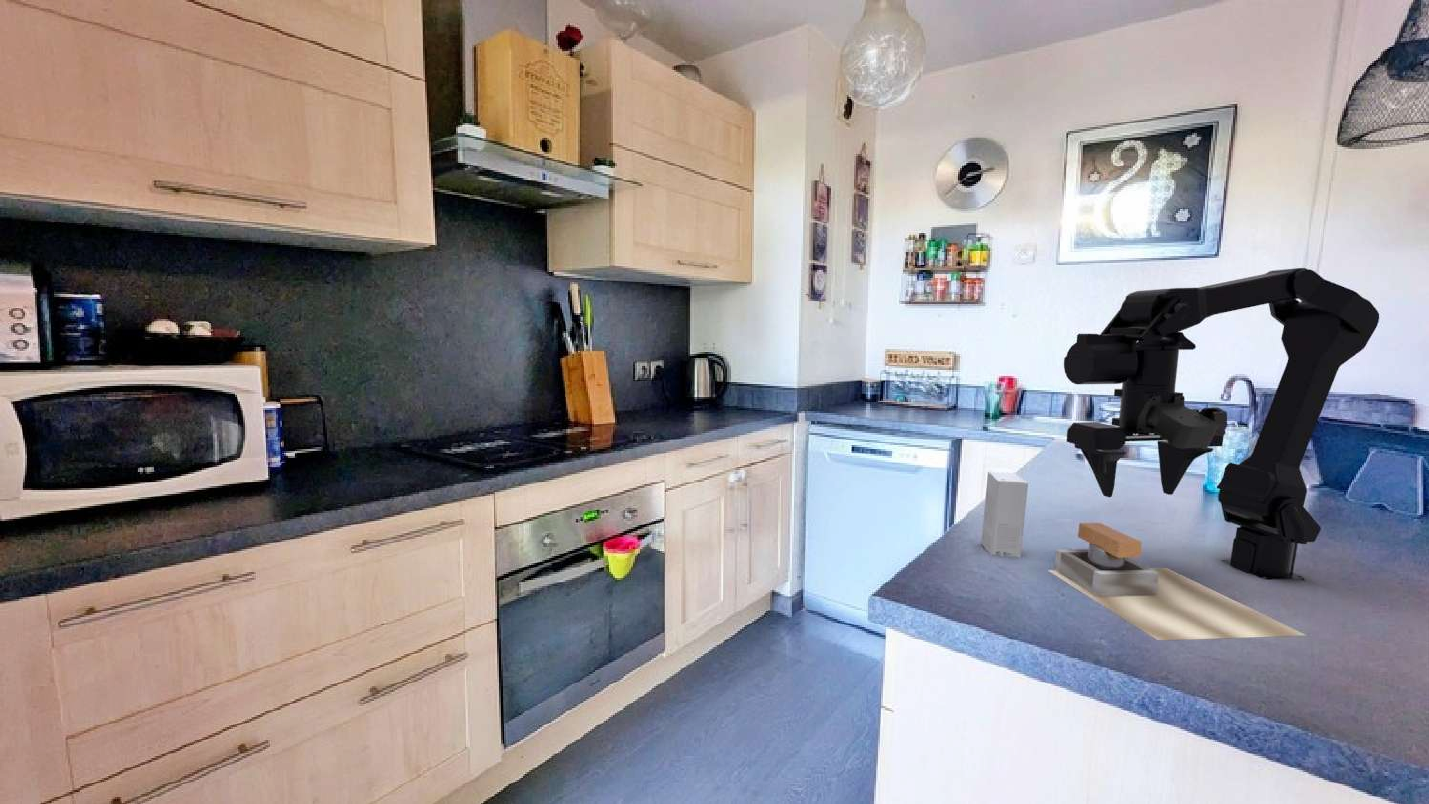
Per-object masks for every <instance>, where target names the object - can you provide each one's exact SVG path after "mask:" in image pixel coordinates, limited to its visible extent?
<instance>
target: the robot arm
mask: <svg viewBox="0 0 1429 804" xmlns="http://www.w3.org/2000/svg"><path fill="white" fill-rule="evenodd" d="M1298 299H1299V300H1300V301H1299V300H1298ZM1267 304H1268V307H1269V312H1270V316H1271V317H1273V319H1275V320H1276V321H1277V322H1278V323H1280V324H1281V325H1282V326H1283V329H1282V334H1281V338H1280V341H1281V342H1282V345H1283V348H1284V351H1285V353H1286V356H1287V362H1286V364H1285V367H1284V371H1282V372H1283V373H1282V375H1281V378H1280V381H1279V383H1278V384H1277V388H1276V390H1275V393H1274V396H1273V398H1272V400H1271V404H1270V406H1269V409H1268V411H1267V414H1266V416H1265V420H1264V421H1263V424H1262V426H1261V429H1260V431H1259V432H1260V433H1259V434H1258V437H1257V440H1256V442H1255V445H1254V448H1253V450H1252V453H1251V454H1250V456H1249V457H1248V458H1245V459H1244V460H1243V461H1241V462H1240V463H1239V464H1238V463H1234V462H1228V463H1227V465H1225V467H1224V471H1223V476H1222V478H1221V480H1220V482H1219V483H1218V485H1216V489H1218V490H1219V491H1218V495H1217V498H1218V500H1217V501H1218V502H1219V503H1220V504H1221V510H1222V515H1223V518H1224V522H1227V523H1230V524H1235V525H1237V527H1236V529H1235V531H1236V532H1235V537H1234V538H1233V541H1232V548H1231V552H1230V553H1231V556H1230V559H1221V560H1220V561H1221V562H1222V563H1225V564H1227V565H1230V566H1231V567H1233V568H1235V569H1237V570H1240V571H1243V572H1245V573H1247V574H1251V575H1253V576H1256V577H1257V578H1260V579H1263V580H1301V581H1304V582H1305V581H1306V577H1305V576H1303V575H1300V574H1297V573H1295V572H1294V569H1295V565H1296V564H1295V563H1296V557H1297V550H1298V544H1300V545H1307V543H1314V542H1316V540H1317V538H1318V536H1319V534H1320V532H1321V530H1322V528H1321V526H1320V525H1319V524H1318V523H1317V521H1316V520H1315V519H1314V517H1313V516H1312V515H1311V514H1310V513H1309V511H1308V510H1307V509H1306V508H1305V502H1306V497H1307V494H1308V488H1307V486H1306V482H1305V480H1304V477H1303V474H1302V472H1301V469H1300V468H1301V463H1302V462H1303V459H1304V457H1305V455H1306V452H1307V448H1308V446H1309V443H1310V441H1311V438H1312V436H1313V434H1314V431H1315V429H1316V426H1317V424H1318V421H1319V419H1320V416H1321V414H1322V412H1323V410H1324V409H1323V408H1324V406H1325V403H1326V402H1327V398H1328V396H1329V394H1330V391H1331V388H1332V385H1333V383H1334V381H1335V379H1336V375H1337V374H1338V372H1339V368H1340V367H1341V366H1342V365H1343V364H1345V363H1347V362H1348V361H1349V360H1350V359H1352V358H1353V357H1355V356H1356V355H1357V354H1358V353H1360V352H1361V351H1363V350H1364V349H1365V348H1366V345H1367V344H1368V343H1369V341H1370V340H1371V337H1372V336H1373V334H1374V332H1375V331H1376V329H1377V327H1378V324H1379V321H1380V313H1379V311H1378V310H1377V308H1376V307H1375V306H1374V305H1373V303H1371V301H1370V300H1369V299H1366V298H1364V297H1363V296H1362V295H1360V294H1359V293H1358V292H1357V291H1356V290H1353V289H1350V288H1347V287H1345V286H1343V285H1340V284H1337V283H1335V282H1332V281H1330V280H1328V279H1325V278H1323V277H1322V276H1321V275H1320V274H1318V273H1317V272H1316V271H1314V270H1313V269H1308V268H1307V267H1297V268H1296V267H1295V268H1287V269H1286V268H1285V269H1276V270H1270V271H1268V272H1266V273H1263V274H1262V273H1261V274H1257V275H1253V276H1247V277H1243V278H1239V279H1234V280H1229V281H1228V280H1227V281H1225V282H1219V283H1215V284H1210V285H1205V286H1199V287H1174V288H1173V287H1171V288H1160V289H1147V290H1137V291H1134V292H1130V293H1128V294H1127V295H1126V296H1125V299H1124V300H1123V302H1122V304H1121V306H1120V309H1119V310H1118V311H1117V312H1116V314H1115V315H1114V316H1113V317H1112V319H1111V320H1110V322H1109V323H1108V324H1107V325H1106V327H1105V328H1104V329H1103V330H1102V332H1101V333H1100V334H1099V333H1098V334H1097V333H1078V334H1077V335H1076V342H1075V343H1073V344H1072V345H1071V346H1070V348H1069V349H1068V350H1067V353H1066V355H1065V357H1064V358H1063V360H1064V361H1063V369H1064V373H1065V377H1066V378H1067V379H1068V380H1069V381H1070V383H1072V384H1074V385H1119V384H1122V387H1121V388H1114V392H1113V393H1114V394H1113V396H1114V397H1117V398H1118V397H1119V398H1120V408H1119V409H1120V410H1119V417H1111V425H1110V424H1106V423H1101V422H1097V421H1095V422H1094V421H1091V422H1085V421H1084V422H1073V423H1072V424H1071V425H1070V426H1068V428H1067V430H1066V443H1069V444H1073V445H1074V448H1075V449H1078V450H1080V451H1081V452H1082V454H1083V456H1084V458H1085V460H1086V461H1087V462H1088V465H1089V467H1090V469H1091V471H1092V473H1093V475H1094V477H1095V480H1096V481H1097V484H1098V487H1099V488H1100V492H1101V493H1102V495H1103V496H1104V497H1107V498H1112V497H1113V493H1114V489H1115V484H1116V483H1115V482H1116V473H1117V472H1116V471H1117V466H1118V461H1120V459H1122V458H1123V456H1125V455H1126V454H1127V452H1126V451H1123V450H1120V449H1122V448H1123V447H1124V446H1125V444H1126V442H1146V441H1147V442H1150V441H1151V442H1152V441H1153V442H1154V441H1157V452H1158V463H1159V472H1160V473H1159V474H1160V481H1161V488H1162V492H1163V493H1164V494H1166V495H1169V496H1172V495H1173V494H1174V492H1175V491H1176V489H1177V488H1178V486H1179V484H1180V482H1181V481H1182V479H1183V477H1184V476H1185V473H1186V472H1187V470H1188V469H1189V467H1190V466H1191V464H1192V463H1193V462H1194V460H1195V459H1197V458H1199V457H1201V456H1203V455H1205V454H1207V453H1212V452H1213V451H1214V447H1223V446H1224V444H1223V442H1224V436H1225V435H1226V429H1227V427H1228V412H1227V411H1226V410H1224V409H1221V408H1220V407H1216V406H1215V407H1204V408H1202V409H1201V410H1200V409H1198V408H1193V409H1191V408H1188V406H1186V405H1185V396H1184V392H1177V391H1176V384H1177V383H1176V381H1177V373H1178V365H1179V353H1180V351H1189V350H1190V351H1191V350H1195V349H1196V347H1197V345H1196V344H1195V343H1194V342H1193V341H1191V340H1190V339H1189V338H1187V337H1186V336H1185V334H1184V333H1183V332H1182V331H1184V330H1187V329H1189V328H1192V327H1195V326H1198V325H1200V324H1201V323H1202V322H1203V321H1204V320H1205V319H1207V318H1209V317H1212V316H1214V315H1219V314H1224V313H1228V312H1234V311H1237V310H1238V311H1239V310H1242V309H1247V308H1253V307H1257V306H1263V305H1267ZM1212 447H1213V448H1212ZM1238 526H1239V527H1238Z"/></svg>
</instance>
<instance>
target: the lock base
mask: <svg viewBox="0 0 1429 804" xmlns="http://www.w3.org/2000/svg"><path fill="white" fill-rule="evenodd" d="M1088 552H1089V548H1078V549H1077V548H1074V549H1073V548H1070V549H1056V550H1055V561H1054V569H1047V571H1048V572H1049V573H1051V574H1052V575H1054V576H1055V577H1057V578H1058V579H1060V580H1061V581H1063V582H1065V583H1066V584H1069V586H1071V587H1072V588H1074V589H1076V590H1077V591H1079V592H1081V593H1082V594H1084V595H1085V596H1086V597H1089V598H1090V599H1092V600H1094V601H1095V602H1096V603H1098V604H1100V605H1101V606H1102V607H1104V608H1106V609H1107V610H1108V611H1110V612H1112V613H1114V614H1116V615H1117V616H1118V617H1120V618H1122V619H1123V620H1124V621H1125V622H1128V623H1129V624H1131V625H1133V626H1134V627H1136V628H1137V629H1139V630H1140V631H1142V632H1143V633H1144V634H1146V635H1148V636H1150V637H1151V638H1153V639H1155V641H1161V642H1162V641H1163V642H1164V641H1188V640H1191V641H1192V640H1193V641H1194V640H1216V639H1217V640H1218V639H1219V640H1221V639H1223V640H1225V639H1250V638H1281V637H1282V638H1283V637H1307V634H1304V633H1302V632H1301V631H1298V630H1296V629H1294V628H1292V627H1290V626H1288V625H1286V624H1284V623H1282V622H1280V621H1278V620H1275V619H1274V618H1272V617H1270V616H1267V615H1265V614H1263V613H1260V612H1259V611H1256V610H1255V609H1253V608H1251V607H1249V606H1246V605H1245V604H1242V603H1240V602H1238V601H1236V600H1233V599H1232V598H1230V597H1227V596H1226V595H1223V593H1222V594H1221V593H1219V592H1217V591H1215V590H1213V589H1212V588H1209V587H1207V586H1205V585H1203V584H1201V583H1199V582H1197V581H1194V580H1192V579H1190V578H1188V577H1186V576H1184V575H1182V574H1179V573H1178V572H1175V571H1173V570H1172V569H1169V568H1168V567H1147V566H1145V565H1144V564H1141V563H1139V562H1138V561H1135V560H1133V559H1131V558H1130V557H1125V562H1124V570H1114V571H1101V570H1099V569H1097V568H1095V567H1094V566H1092V565H1090V564H1088V563H1087V560H1088Z"/></svg>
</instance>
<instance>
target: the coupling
mask: <svg viewBox="0 0 1429 804" xmlns="http://www.w3.org/2000/svg"><path fill="white" fill-rule="evenodd" d="M1077 538H1079V539H1081V540H1083V541H1085V542H1087V543H1088V544H1089V546H1088V549H1089V552H1088V560H1087V563H1088V564H1090V565H1092V566H1094V567H1095V568H1097V569H1099V570H1101V571H1114V570H1124V562H1125V557H1127V558H1140V557H1141V550H1142V541H1141V540H1138V539H1136V538H1133V537H1131V536H1129V535H1127V534H1125V533H1123V532H1120V531H1119V530H1116V529H1114V528H1112V527H1109V526H1107V525H1105V524H1103V523H1101V522H1079V525H1078V534H1077Z"/></svg>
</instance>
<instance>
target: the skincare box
mask: <svg viewBox="0 0 1429 804" xmlns="http://www.w3.org/2000/svg"><path fill="white" fill-rule="evenodd" d="M986 478H987V479H986V488H985V489H986V490H985V499H984V501H985V502H984V509H983V511H984V512H983V522H982V532H981V533H982V534H981V545H982V547H983V548H984V549H985V551H986V552H989V553H990V555H991V556H1000V557H1001V556H1002V557H1011V558H1021V557H1022V548H1023V538H1024V537H1023V536H1024V527H1025V517H1026V506H1027V499H1028V498H1027V495H1028V487H1029V484H1028V482H1027V481H1026V480H1024V479H1023V478H1022V477H1020V476H1019V475H1018V474H1016V473H1015V472H1000V471H988V472H987V477H986Z"/></svg>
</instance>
